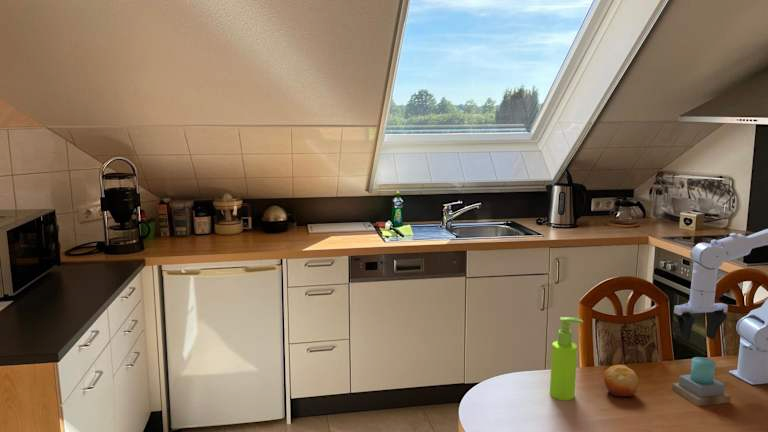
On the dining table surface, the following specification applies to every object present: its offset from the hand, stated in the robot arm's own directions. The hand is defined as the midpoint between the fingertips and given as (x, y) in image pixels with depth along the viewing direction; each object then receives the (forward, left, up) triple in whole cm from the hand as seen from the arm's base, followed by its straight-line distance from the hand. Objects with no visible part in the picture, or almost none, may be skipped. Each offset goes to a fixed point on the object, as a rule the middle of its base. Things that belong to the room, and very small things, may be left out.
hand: (697, 338), depth 156 cm
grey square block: (+7, +10, -9) cm, 15 cm away
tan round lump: (+26, +5, -11) cm, 28 cm away
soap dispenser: (+40, +3, -11) cm, 41 cm away
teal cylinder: (+7, +10, -6) cm, 14 cm away
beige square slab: (+7, +10, -11) cm, 17 cm away
